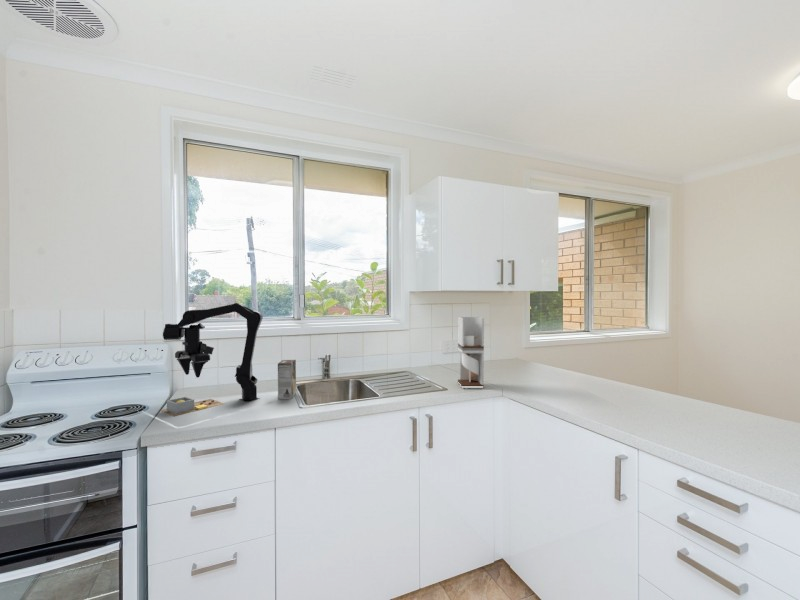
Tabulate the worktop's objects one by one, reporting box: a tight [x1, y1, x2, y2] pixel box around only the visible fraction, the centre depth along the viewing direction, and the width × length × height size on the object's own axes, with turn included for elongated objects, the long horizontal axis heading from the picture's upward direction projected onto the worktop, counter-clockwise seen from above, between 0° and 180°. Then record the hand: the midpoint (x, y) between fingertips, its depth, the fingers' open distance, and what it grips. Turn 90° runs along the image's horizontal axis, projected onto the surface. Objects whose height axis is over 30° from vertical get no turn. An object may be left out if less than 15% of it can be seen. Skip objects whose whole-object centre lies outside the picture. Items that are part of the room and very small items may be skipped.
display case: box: [457, 316, 485, 386], centre depth 190 cm, size 11×11×35 cm
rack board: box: [160, 398, 225, 417], centre depth 153 cm, size 12×20×1 cm, turn 144°
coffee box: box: [277, 359, 297, 400], centre depth 171 cm, size 9×6×16 cm
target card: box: [194, 404, 209, 411], centre depth 151 cm, size 4×4×1 cm
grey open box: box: [166, 396, 195, 414], centre depth 148 cm, size 7×7×4 cm
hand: (192, 375), depth 159 cm, fingers open, 9 cm apart
